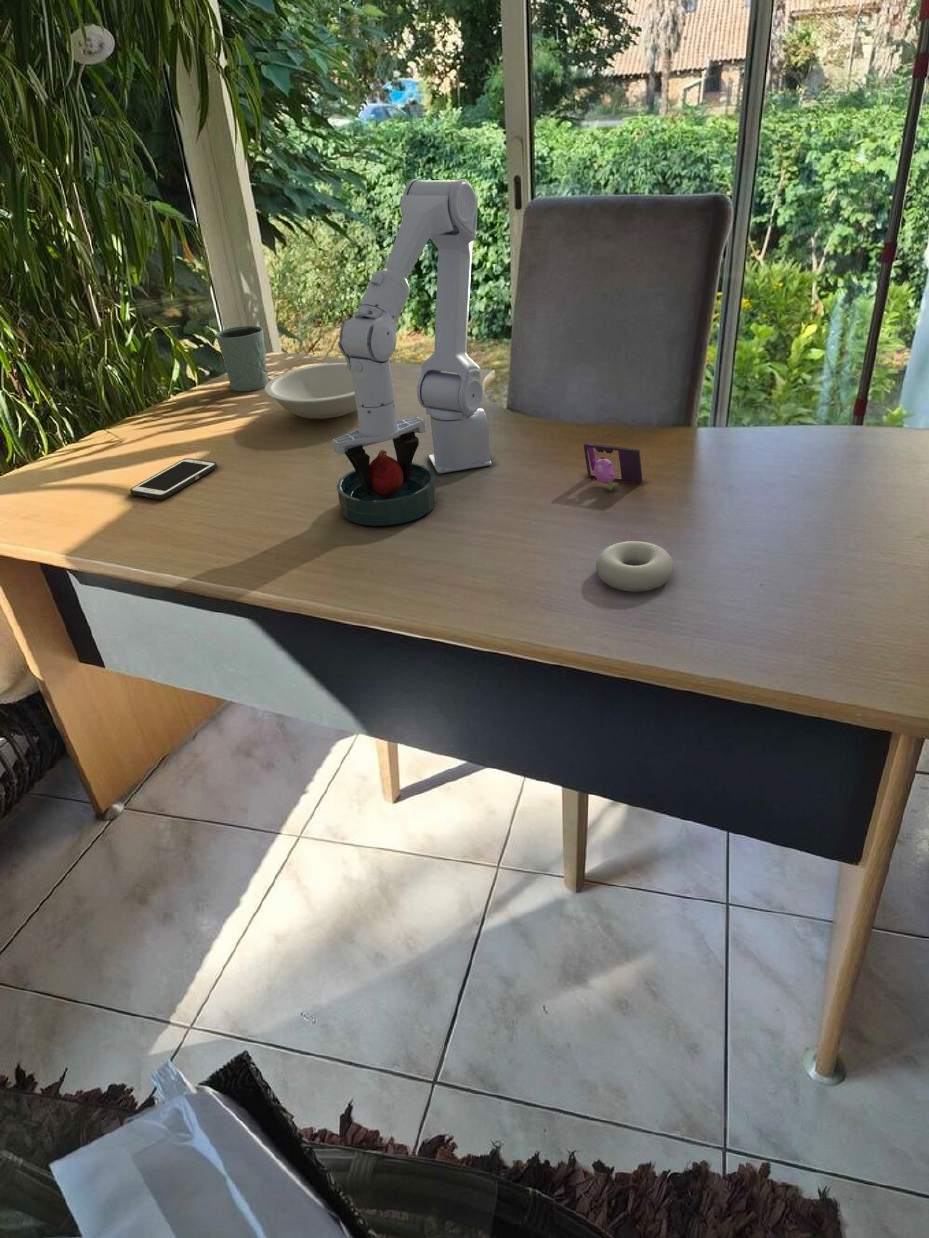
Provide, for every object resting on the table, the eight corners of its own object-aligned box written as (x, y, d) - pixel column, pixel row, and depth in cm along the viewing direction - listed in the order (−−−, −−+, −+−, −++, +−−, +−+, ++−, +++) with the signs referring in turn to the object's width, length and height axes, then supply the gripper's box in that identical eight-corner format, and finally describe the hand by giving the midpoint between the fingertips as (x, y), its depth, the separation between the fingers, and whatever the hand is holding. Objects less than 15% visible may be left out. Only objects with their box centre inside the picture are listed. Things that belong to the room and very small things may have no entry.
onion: (400, 507, 134) (394, 458, 130) (364, 506, 136) (357, 458, 131) (409, 491, 139) (404, 443, 135) (375, 490, 140) (368, 443, 136)
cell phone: (129, 495, 149) (127, 489, 149) (187, 462, 160) (185, 457, 160) (162, 501, 146) (161, 495, 146) (219, 467, 157) (218, 462, 156)
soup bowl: (382, 429, 167) (378, 396, 164) (259, 438, 168) (252, 405, 165) (392, 389, 187) (388, 359, 184) (282, 397, 189) (276, 366, 185)
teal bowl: (426, 480, 146) (423, 455, 143) (446, 518, 133) (443, 491, 131) (336, 495, 143) (331, 470, 141) (348, 535, 131) (343, 508, 128)
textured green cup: (221, 392, 194) (208, 338, 188) (238, 378, 203) (226, 325, 196) (263, 391, 193) (252, 336, 186) (279, 377, 201) (269, 324, 194)
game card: (641, 446, 134) (585, 440, 138) (630, 469, 131) (574, 462, 135) (643, 478, 139) (590, 471, 143) (634, 501, 136) (579, 493, 140)
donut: (660, 555, 119) (588, 562, 119) (662, 533, 117) (589, 539, 117) (682, 593, 111) (604, 600, 110) (684, 569, 109) (605, 576, 108)
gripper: (407, 384, 135) (416, 466, 142) (319, 405, 129) (334, 489, 137) (427, 395, 129) (436, 480, 137) (337, 418, 124) (351, 504, 131)
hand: (386, 485), depth 136 cm, fingers closed on onion, 6 cm apart
